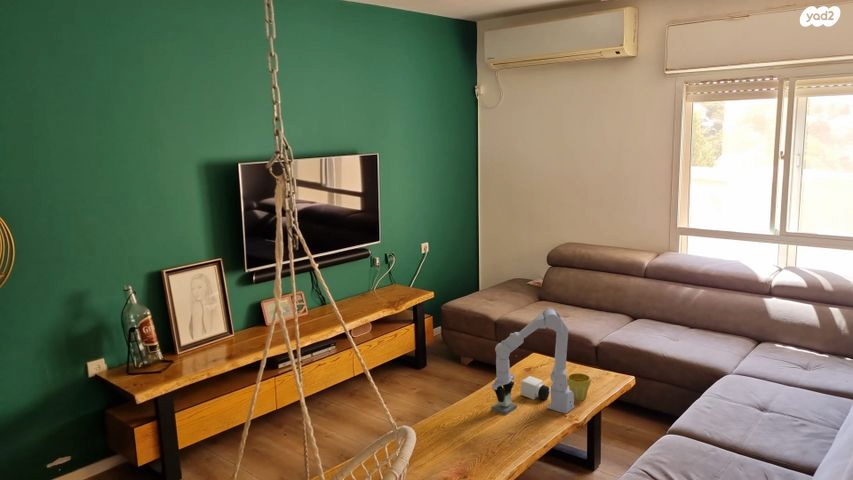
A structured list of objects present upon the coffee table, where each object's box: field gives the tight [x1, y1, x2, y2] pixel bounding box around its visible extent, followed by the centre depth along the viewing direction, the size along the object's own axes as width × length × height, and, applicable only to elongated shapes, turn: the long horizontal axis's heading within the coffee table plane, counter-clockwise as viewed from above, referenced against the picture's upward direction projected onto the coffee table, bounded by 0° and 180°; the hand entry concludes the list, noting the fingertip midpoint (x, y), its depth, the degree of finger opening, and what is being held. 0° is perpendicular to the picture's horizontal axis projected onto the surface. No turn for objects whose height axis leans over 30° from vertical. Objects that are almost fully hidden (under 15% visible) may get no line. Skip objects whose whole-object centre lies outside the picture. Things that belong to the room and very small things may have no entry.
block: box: [490, 402, 518, 416], centre depth 288 cm, size 8×8×2 cm
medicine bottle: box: [520, 375, 551, 401], centre depth 298 cm, size 7×7×12 cm
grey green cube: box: [496, 391, 512, 407], centre depth 287 cm, size 5×5×5 cm
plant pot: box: [566, 372, 592, 402], centre depth 295 cm, size 10×10×10 cm
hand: (503, 399), depth 287 cm, fingers closed on grey green cube, 4 cm apart
